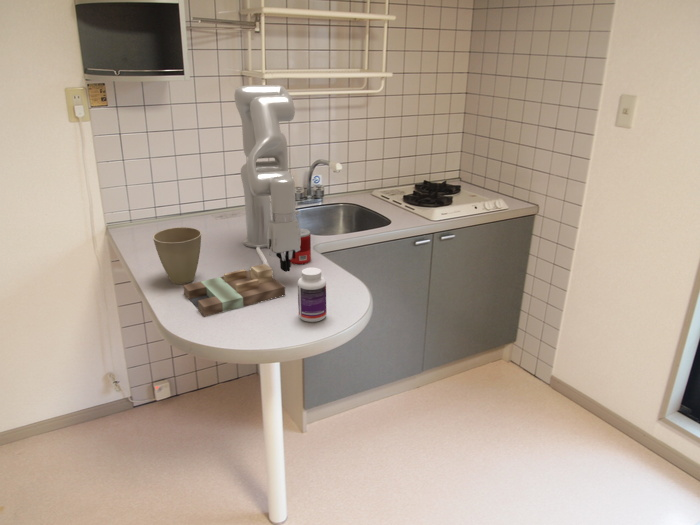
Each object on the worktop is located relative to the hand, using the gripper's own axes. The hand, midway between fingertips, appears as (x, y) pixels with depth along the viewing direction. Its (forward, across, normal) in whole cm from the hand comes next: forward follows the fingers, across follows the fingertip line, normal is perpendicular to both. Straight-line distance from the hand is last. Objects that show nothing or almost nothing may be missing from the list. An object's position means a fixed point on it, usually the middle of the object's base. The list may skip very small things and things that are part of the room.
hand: (285, 270), depth 186 cm
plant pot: (+4, +28, -20) cm, 35 cm away
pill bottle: (+5, +5, +26) cm, 27 cm away
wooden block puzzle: (+4, +18, 0) cm, 19 cm away
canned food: (+4, -13, -14) cm, 20 cm away
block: (+1, +8, 0) cm, 9 cm away
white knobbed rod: (+5, -1, -21) cm, 22 cm away
